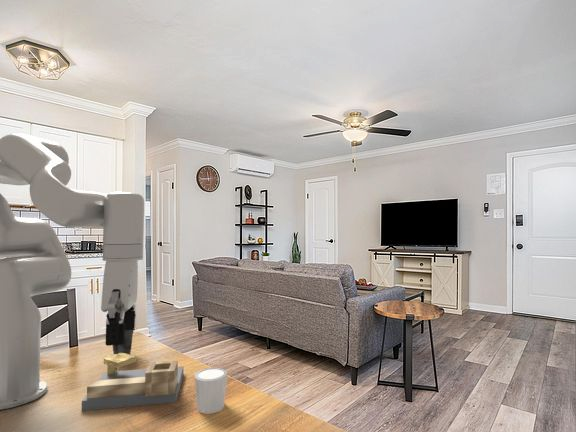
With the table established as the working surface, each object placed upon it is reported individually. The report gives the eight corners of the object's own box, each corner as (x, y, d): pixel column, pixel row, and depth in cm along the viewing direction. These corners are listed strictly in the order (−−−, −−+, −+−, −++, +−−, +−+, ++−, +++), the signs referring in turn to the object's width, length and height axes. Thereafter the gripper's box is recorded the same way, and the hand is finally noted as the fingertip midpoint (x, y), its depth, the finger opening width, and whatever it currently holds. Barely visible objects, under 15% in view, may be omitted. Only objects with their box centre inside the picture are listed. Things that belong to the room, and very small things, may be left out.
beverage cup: (140, 354, 106) (141, 287, 106) (117, 361, 100) (118, 291, 100) (126, 349, 110) (127, 285, 110) (103, 356, 104) (104, 289, 104)
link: (84, 401, 73) (84, 377, 73) (94, 388, 78) (94, 366, 79) (174, 393, 76) (174, 370, 76) (177, 382, 82) (177, 360, 82)
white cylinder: (219, 417, 70) (219, 381, 71) (188, 413, 72) (188, 378, 72) (231, 400, 77) (231, 368, 77) (202, 397, 78) (203, 366, 79)
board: (81, 410, 73) (81, 401, 73) (104, 380, 88) (105, 372, 88) (176, 401, 76) (176, 392, 77) (183, 374, 91) (183, 366, 91)
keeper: (99, 384, 85) (100, 357, 86) (117, 376, 89) (118, 351, 90) (117, 390, 82) (118, 362, 82) (135, 382, 86) (135, 356, 86)
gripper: (114, 250, 79) (112, 326, 79) (89, 256, 62) (86, 353, 62) (149, 249, 81) (147, 324, 80) (134, 256, 64) (132, 350, 63)
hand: (121, 336), depth 71 cm, fingers open, 9 cm apart
